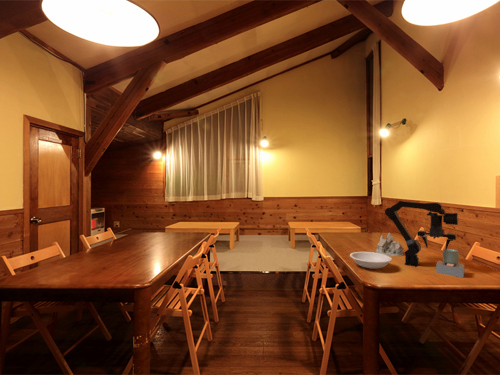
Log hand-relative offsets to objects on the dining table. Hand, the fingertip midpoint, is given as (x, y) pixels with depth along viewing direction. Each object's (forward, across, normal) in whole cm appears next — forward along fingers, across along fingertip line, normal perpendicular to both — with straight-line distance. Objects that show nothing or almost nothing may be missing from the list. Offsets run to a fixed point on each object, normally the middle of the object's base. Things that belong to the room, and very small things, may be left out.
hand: (436, 249), depth 154 cm
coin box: (+12, +7, -4) cm, 14 cm away
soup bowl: (+12, -31, -22) cm, 40 cm away
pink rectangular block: (+10, +7, -4) cm, 13 cm away
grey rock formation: (+12, -31, +20) cm, 39 cm away
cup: (+12, +6, +11) cm, 18 cm away
